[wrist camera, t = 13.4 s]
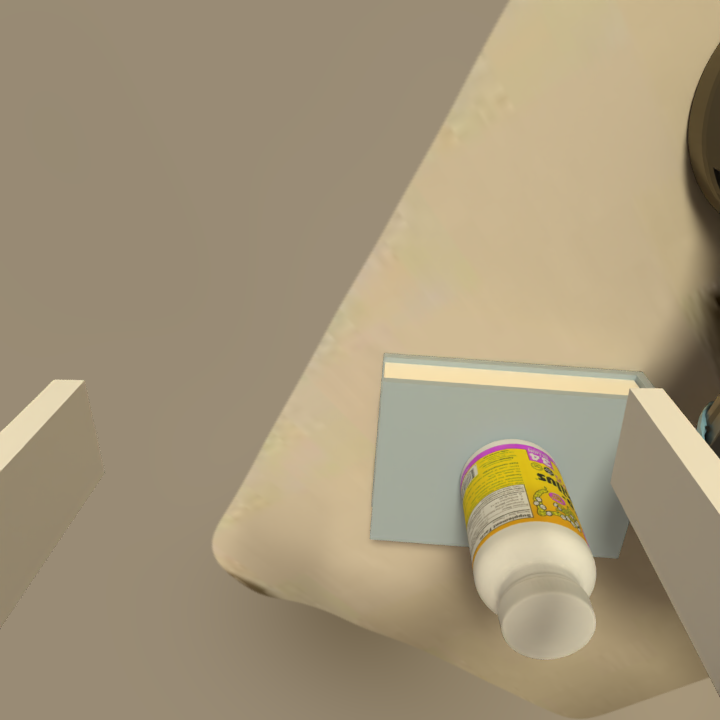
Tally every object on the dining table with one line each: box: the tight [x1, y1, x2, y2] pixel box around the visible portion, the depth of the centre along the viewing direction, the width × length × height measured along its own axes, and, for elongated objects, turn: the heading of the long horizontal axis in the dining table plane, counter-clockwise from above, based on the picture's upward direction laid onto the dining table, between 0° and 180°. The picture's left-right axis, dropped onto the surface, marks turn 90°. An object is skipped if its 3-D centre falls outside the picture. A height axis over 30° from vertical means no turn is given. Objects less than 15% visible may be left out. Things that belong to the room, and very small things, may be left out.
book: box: [370, 353, 655, 559], centre depth 45 cm, size 18×13×4 cm
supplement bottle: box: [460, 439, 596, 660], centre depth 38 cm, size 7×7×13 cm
